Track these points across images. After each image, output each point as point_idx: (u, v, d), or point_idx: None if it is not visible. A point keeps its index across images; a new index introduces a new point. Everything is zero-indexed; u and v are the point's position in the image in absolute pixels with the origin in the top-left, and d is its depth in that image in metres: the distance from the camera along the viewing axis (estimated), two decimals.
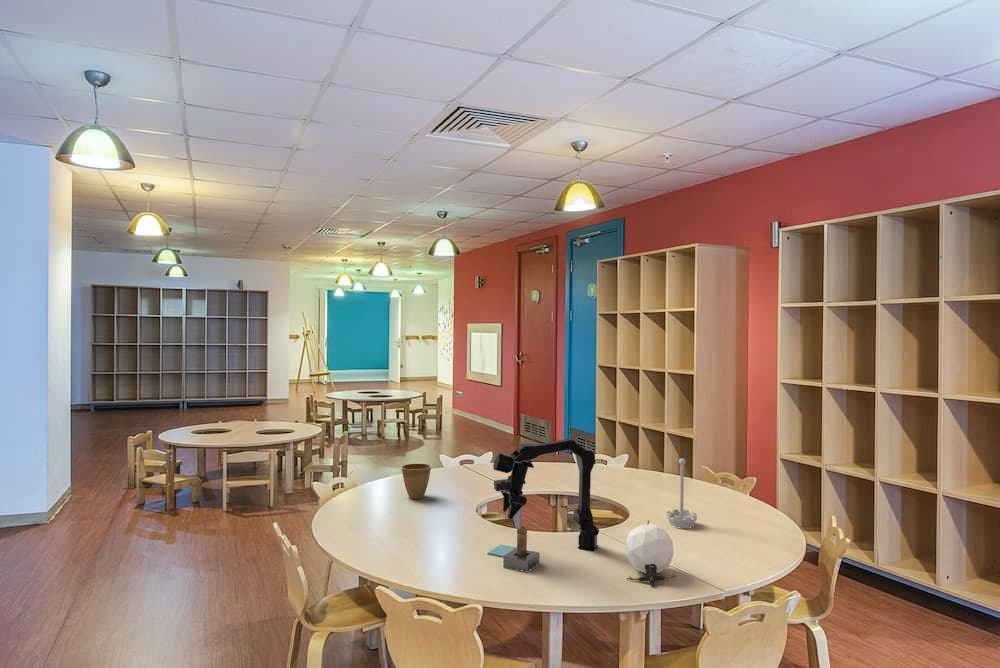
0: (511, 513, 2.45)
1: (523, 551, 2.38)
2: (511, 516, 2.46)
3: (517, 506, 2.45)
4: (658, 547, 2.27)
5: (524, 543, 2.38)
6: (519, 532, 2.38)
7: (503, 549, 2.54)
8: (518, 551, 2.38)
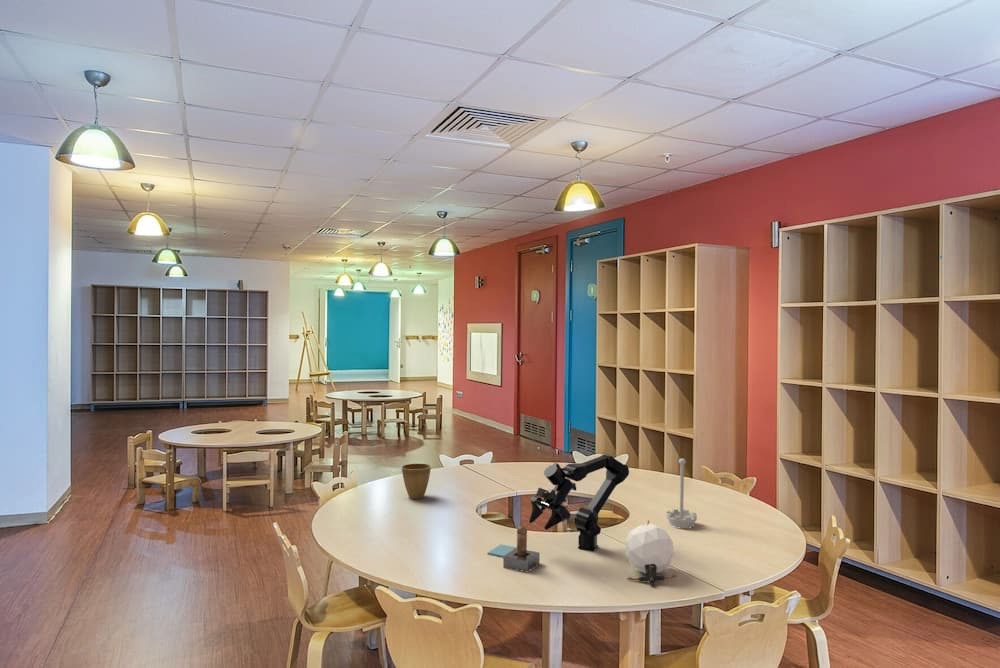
0: (549, 524, 2.40)
1: (523, 551, 2.38)
2: (547, 527, 2.40)
3: (557, 519, 2.41)
4: (658, 547, 2.27)
5: (524, 543, 2.38)
6: (519, 532, 2.38)
7: (503, 549, 2.54)
8: (518, 551, 2.38)
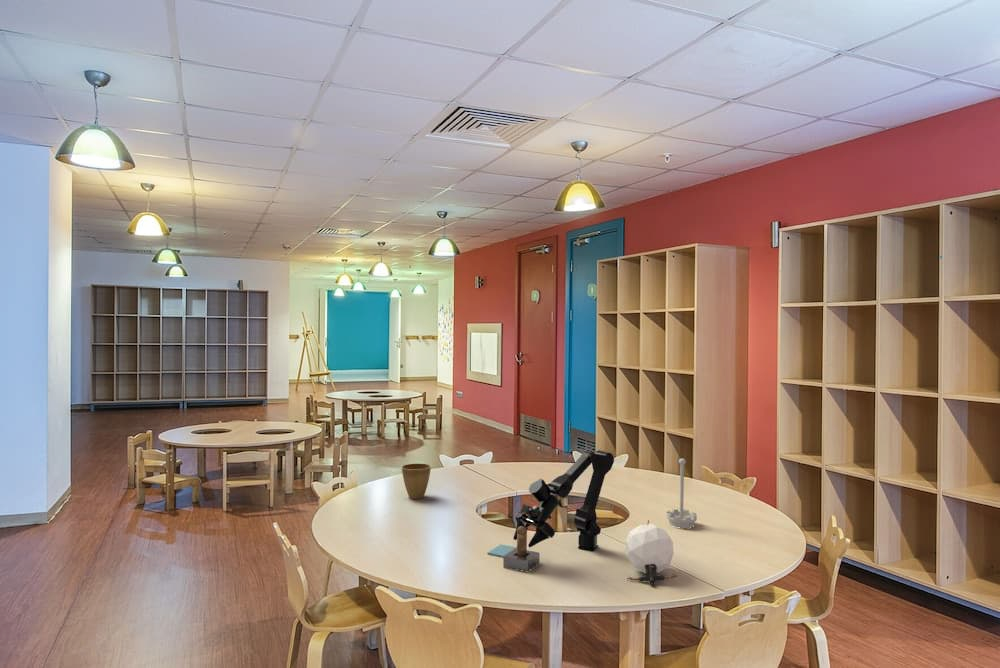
0: (533, 542, 2.35)
1: (523, 551, 2.38)
2: (531, 544, 2.35)
3: (541, 537, 2.37)
4: (658, 547, 2.27)
5: (524, 543, 2.38)
6: (519, 532, 2.38)
7: (503, 549, 2.54)
8: (518, 551, 2.38)
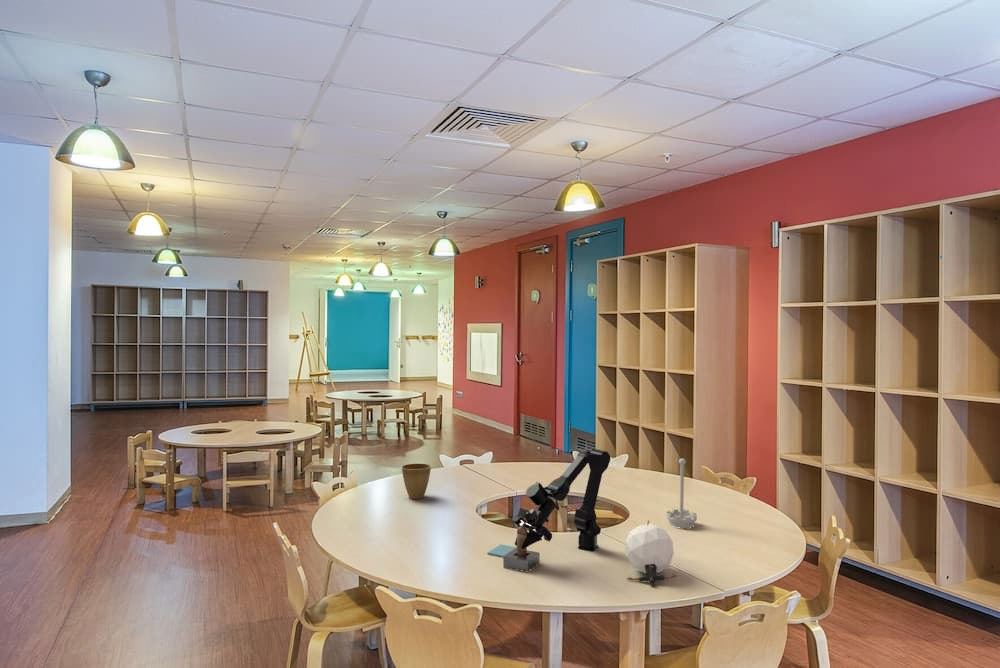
0: (526, 543, 2.37)
1: (523, 551, 2.38)
2: (524, 546, 2.37)
3: (534, 539, 2.38)
4: (658, 547, 2.27)
5: None
6: (519, 532, 2.38)
7: (503, 549, 2.54)
8: (518, 551, 2.38)
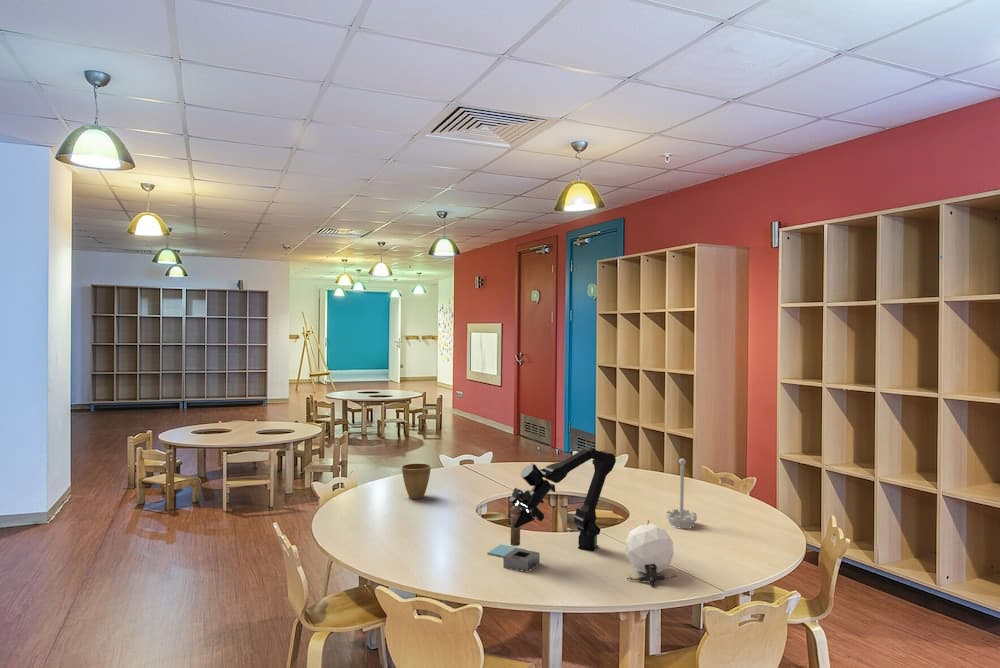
0: (518, 523, 2.40)
1: (516, 530, 2.41)
2: (517, 526, 2.41)
3: (527, 518, 2.41)
4: (658, 547, 2.27)
5: None
6: (512, 511, 2.41)
7: (503, 549, 2.54)
8: (511, 530, 2.42)
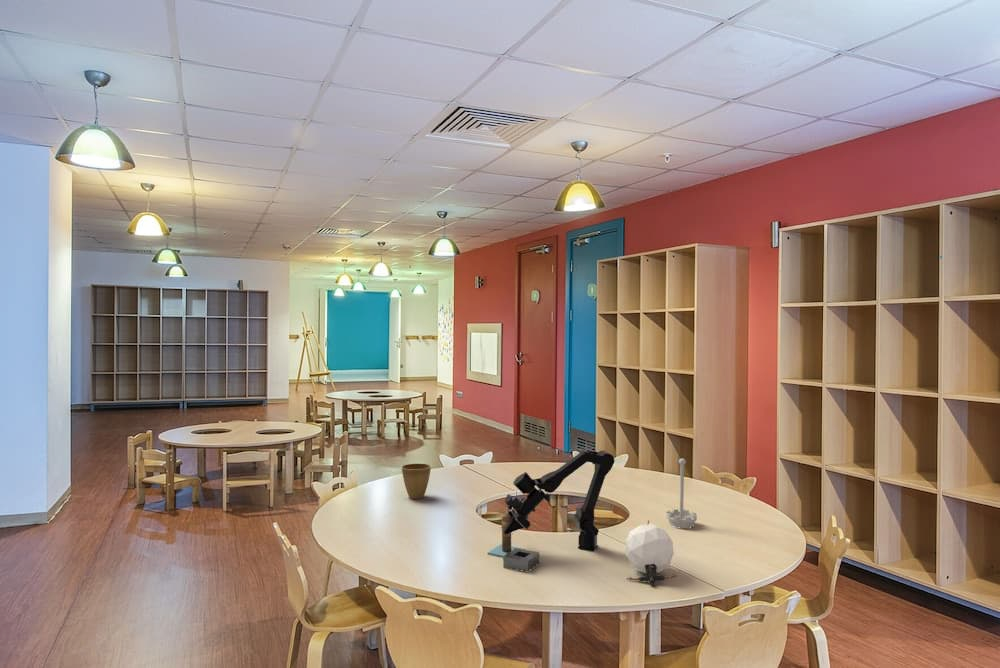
0: (508, 529, 2.49)
1: (506, 537, 2.51)
2: (507, 532, 2.49)
3: (517, 526, 2.49)
4: (658, 547, 2.27)
5: None
6: (502, 519, 2.51)
7: None
8: (502, 536, 2.52)
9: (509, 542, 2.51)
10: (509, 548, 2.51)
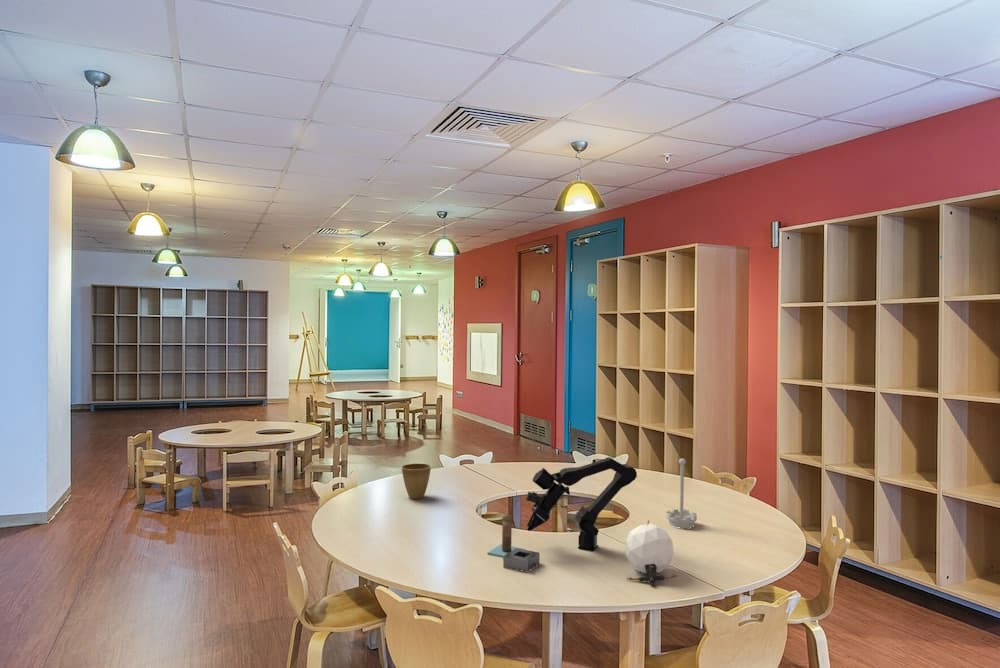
0: (531, 525, 2.49)
1: (506, 537, 2.51)
2: (530, 528, 2.49)
3: (539, 521, 2.49)
4: (658, 547, 2.27)
5: (507, 530, 2.51)
6: (503, 519, 2.51)
7: None
8: (502, 536, 2.52)
9: (509, 542, 2.51)
10: (509, 548, 2.51)
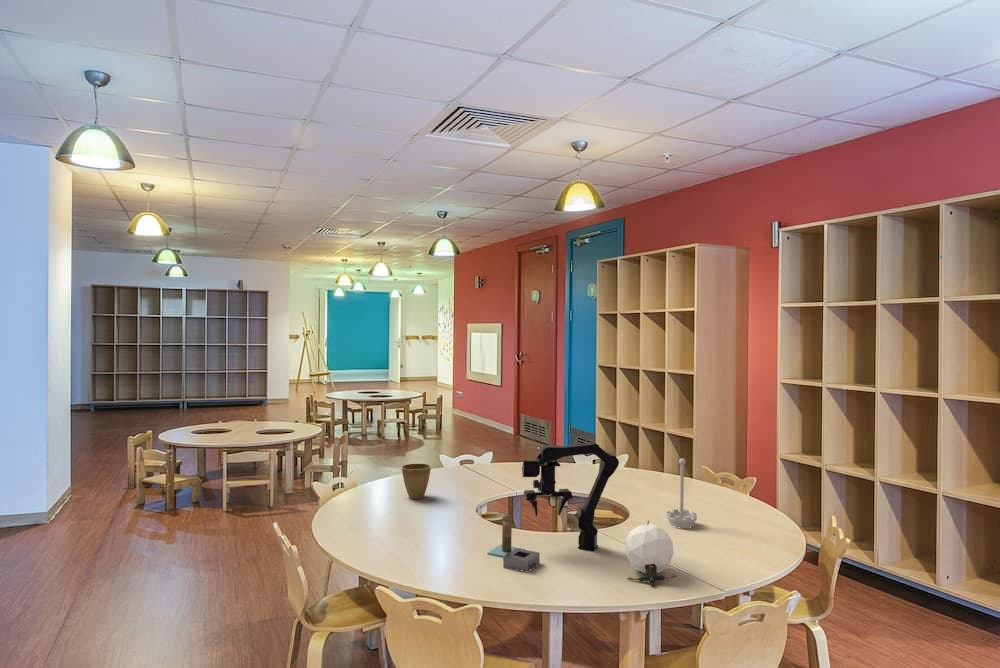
0: (534, 511, 2.56)
1: (506, 537, 2.51)
2: (535, 514, 2.56)
3: None
4: (658, 547, 2.27)
5: (507, 530, 2.51)
6: (503, 519, 2.51)
7: None
8: (502, 536, 2.52)
9: (509, 542, 2.51)
10: (509, 548, 2.51)
